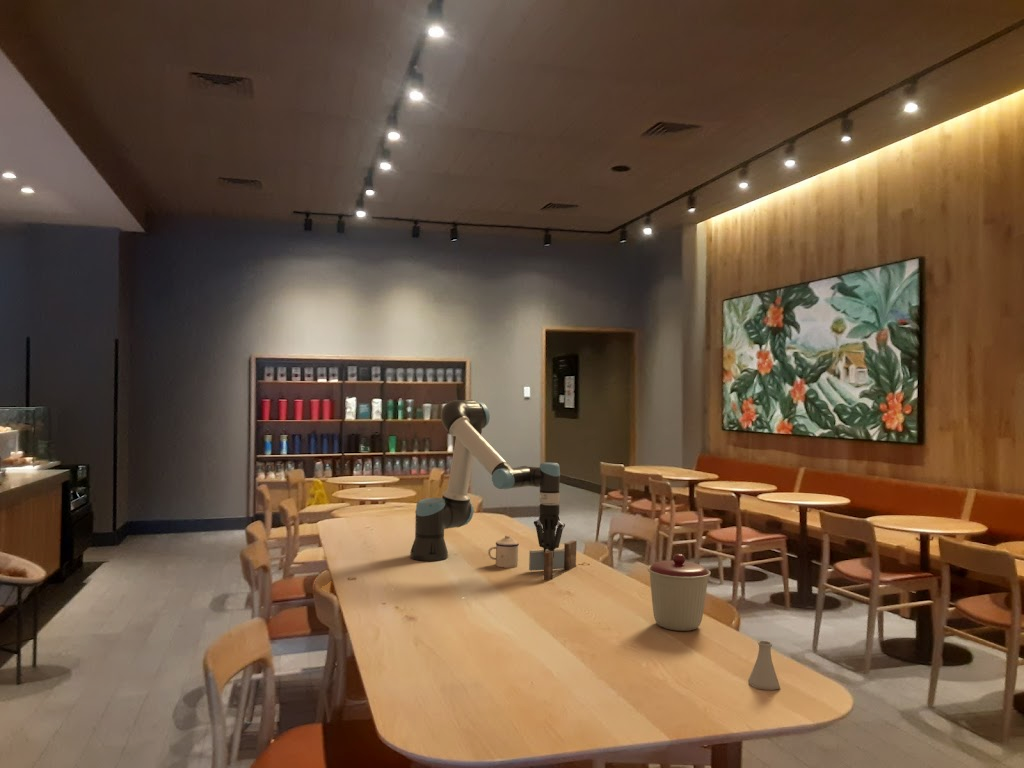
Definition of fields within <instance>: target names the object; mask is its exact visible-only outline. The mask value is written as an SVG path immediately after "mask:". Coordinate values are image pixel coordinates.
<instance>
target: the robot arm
mask: <svg viewBox="0 0 1024 768" xmlns="http://www.w3.org/2000/svg"><path fill="white" fill-rule="evenodd" d="M490 415H491V414H490V411H489V408H488V407H487V405H486V404H485V403H484V402H482V401H479V400H475V399H474V400H473V399H465V400H464V399H463V400H462V399H461V400H460V399H453V400H450V401H448V402H447V403H445V404H444V406H443V407H442V409H441V412H440V420H441V423H442V425H443V427H444V429H445V430H446V432H447V433H448V434H449V435H451V436H452V437H455V440H454V441H455V442H454V448H453V454H452V460H451V467H450V470H449V478H448V484H447V489H446V490H445V491H444V492H443V493H442V497H427V498H423V499H421V500H420V499H419V501H418V502H416V507H415V512H414V513H415V523H414V524H415V526H414V528H415V530H414V532H415V534H414V540H413V544H412V546H411V549H410V552H409V557H410V559H412V560H416V561H423V562H434V561H435V562H437V561H442V560H443V561H444V560H447V559H448V556H449V554H448V553H449V552H448V547H447V544H446V541H445V530H448V529H453V528H455V529H456V528H460V527H463V526H466V525H468V524H469V523H470V522H471V520H472V519H473V516H474V506H473V503H472V502H471V496H470V495H469V494H468V492H469V487H470V486H469V485H470V482H471V480H470V479H471V474H472V468H473V462H474V458H475V459H476V460H477V461H478V462H479V463H480V464H481V465H482V466H483V468H484V469H485V470H486V471H487V472H488V473H489V474H490V475H491V481H492V484H493V486H494V487H495V488H496V489H499V490H510V489H514V488H515V489H516V488H527V487H535V488H539V503H540V504H539V510H538V511H539V517H538V519H537V520H534V521H533V524H534V526H535V529H536V531H535V532H536V535H537V540H538V546H539V547H540V548H542V549H544V552H547V551H553V558H554V549H560V544H561V539H562V535H563V531H564V528H565V526H566V523H563V522H561V521H560V519H561V518H560V517H559V515H560V502H561V501H560V498H561V497H560V484H561V483H560V482H561V481H560V479H561V471H560V469H561V468H560V464H559V463H558V462H541V463H540V464H539V466H527V465H519V466H517V467H512V466H511V465H510V464H509V463H508V462H507V461H506V460H505V459H504V457H502V456H501V455H500V454H499V452H498V451H496V450H495V449H494V447H493V446H492V445H491V444H490V443H489V442H488V441H487V440H486V439H485V438H484V437H483V435H482V432H483V429H484V428H486V426H488V425H489V423H490Z"/></svg>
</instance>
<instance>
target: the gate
mask: <svg viewBox="0 0 1024 768" xmlns="http://www.w3.org/2000/svg"><path fill="white" fill-rule="evenodd" d="M564 552H565V549H564V547H562V548H560V547H559V548H556V549H554V558H553V570H563V569H564ZM528 553H529V559H528V566H529V567H528V571H531V572H532V571H544V549H543V548H542V549H540V548H539V549H529V552H528Z"/></svg>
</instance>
